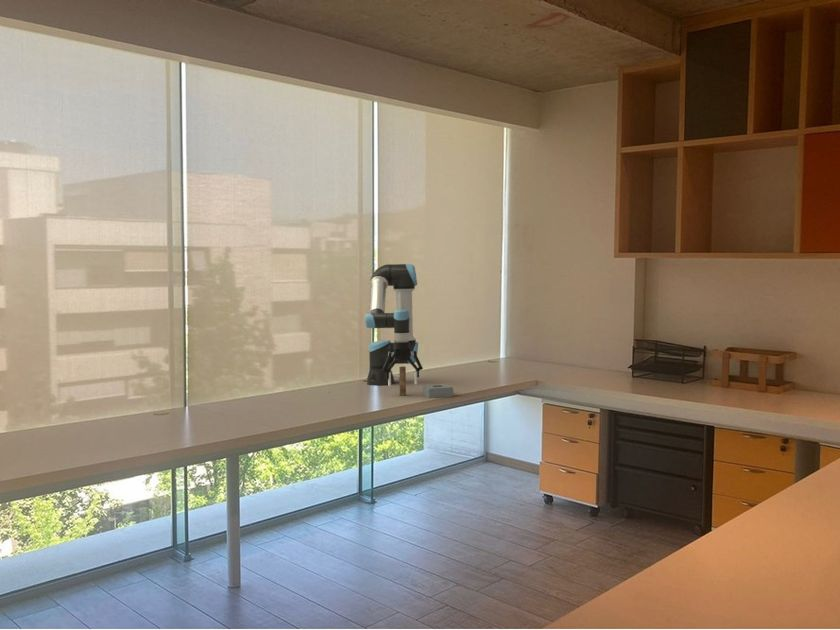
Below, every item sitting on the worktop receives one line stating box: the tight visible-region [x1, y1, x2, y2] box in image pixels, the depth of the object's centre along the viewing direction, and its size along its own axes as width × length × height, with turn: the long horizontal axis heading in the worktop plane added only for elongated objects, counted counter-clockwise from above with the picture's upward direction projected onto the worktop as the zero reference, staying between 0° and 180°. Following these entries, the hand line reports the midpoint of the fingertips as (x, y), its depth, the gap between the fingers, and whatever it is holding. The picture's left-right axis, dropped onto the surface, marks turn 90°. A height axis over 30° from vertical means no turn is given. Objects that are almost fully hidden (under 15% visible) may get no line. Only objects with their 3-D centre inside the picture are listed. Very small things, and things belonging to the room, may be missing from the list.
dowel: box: [398, 366, 407, 397], centre depth 370 cm, size 3×3×14 cm
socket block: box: [422, 383, 454, 399], centre depth 369 cm, size 12×12×4 cm
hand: (402, 385), depth 370 cm, fingers open, 12 cm apart
